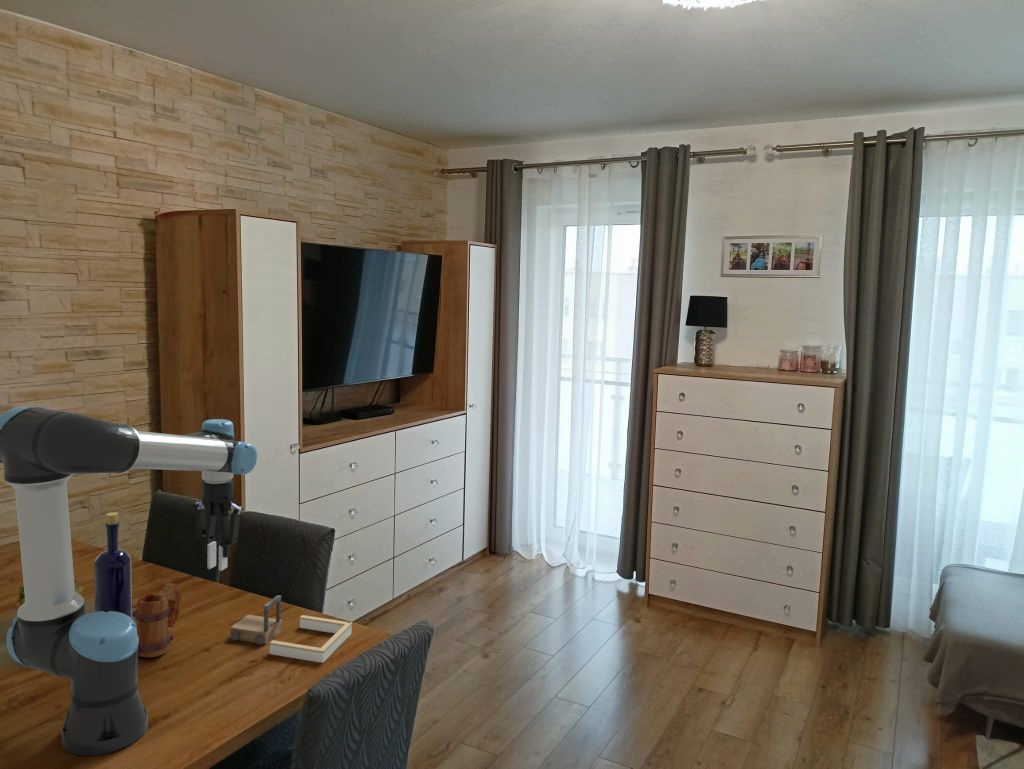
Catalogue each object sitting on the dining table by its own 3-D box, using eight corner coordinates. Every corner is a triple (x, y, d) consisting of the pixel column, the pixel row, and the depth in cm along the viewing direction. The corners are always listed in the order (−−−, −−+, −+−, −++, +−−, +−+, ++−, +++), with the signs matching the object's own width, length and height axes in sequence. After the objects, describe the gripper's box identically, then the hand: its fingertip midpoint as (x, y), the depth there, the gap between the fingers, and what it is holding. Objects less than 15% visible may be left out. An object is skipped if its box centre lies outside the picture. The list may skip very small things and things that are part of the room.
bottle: (139, 626, 195) (138, 515, 191) (101, 636, 188) (99, 521, 184) (125, 614, 201) (124, 506, 197) (88, 624, 194) (86, 512, 191)
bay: (323, 663, 181) (323, 651, 181) (269, 654, 184) (269, 642, 184) (351, 633, 197) (352, 622, 197) (302, 625, 200) (302, 615, 200)
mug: (154, 665, 176) (154, 604, 174) (124, 660, 177) (123, 599, 176) (192, 637, 190) (192, 581, 188) (164, 633, 192) (164, 577, 190)
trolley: (264, 646, 188) (264, 608, 187) (228, 640, 190) (228, 602, 189) (283, 630, 197) (284, 593, 196) (249, 624, 199) (250, 588, 198)
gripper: (253, 479, 193) (252, 566, 196) (199, 473, 196) (199, 559, 199) (236, 486, 186) (236, 577, 189) (181, 480, 189) (181, 569, 192)
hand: (217, 567), depth 194 cm, fingers open, 3 cm apart
